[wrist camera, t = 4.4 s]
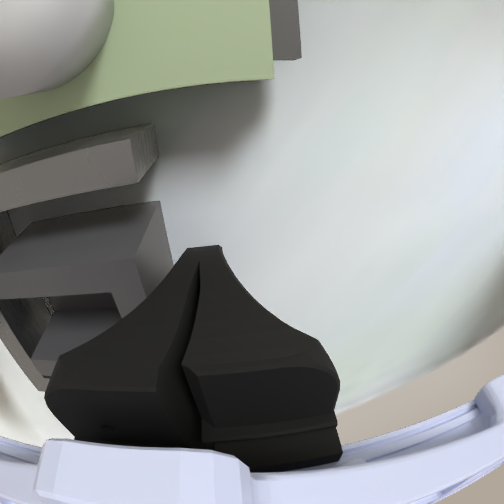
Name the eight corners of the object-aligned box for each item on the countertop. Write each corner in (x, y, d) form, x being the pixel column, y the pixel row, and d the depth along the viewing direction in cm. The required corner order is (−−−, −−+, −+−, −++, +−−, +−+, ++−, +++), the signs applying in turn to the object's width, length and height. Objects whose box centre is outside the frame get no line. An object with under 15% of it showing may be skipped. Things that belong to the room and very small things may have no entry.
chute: (159, 200, 11) (134, 258, 8) (183, 306, 14) (176, 378, 10) (31, 222, 11) (-19, 275, 7) (69, 313, 13) (42, 375, 10)
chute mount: (153, 123, 10) (130, 138, 7) (198, 347, 15) (197, 396, 12) (-22, 173, 9) (-65, 200, 7) (54, 350, 15) (38, 390, 12)
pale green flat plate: (275, -59, 6) (305, -120, 3) (286, 79, 9) (329, 78, 5) (-18, 22, 6) (-89, 22, 2) (-8, 140, 9) (-79, 176, 5)
